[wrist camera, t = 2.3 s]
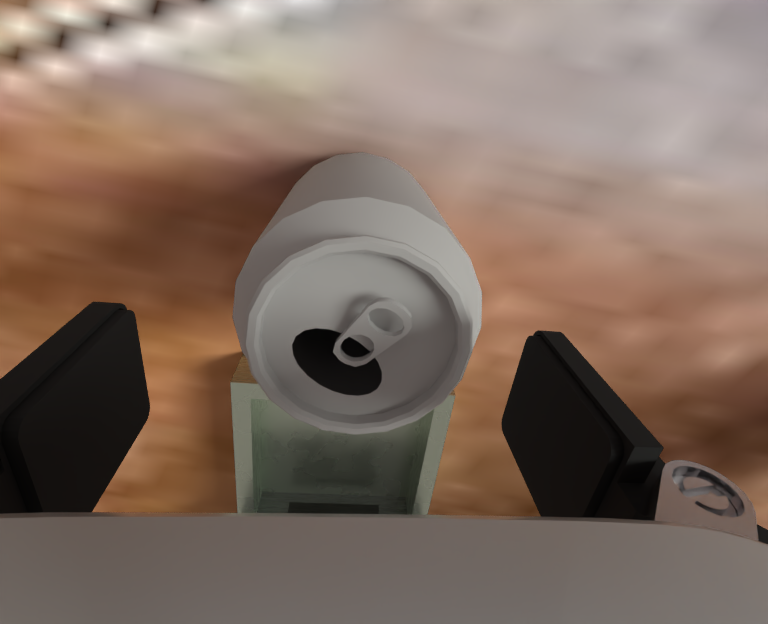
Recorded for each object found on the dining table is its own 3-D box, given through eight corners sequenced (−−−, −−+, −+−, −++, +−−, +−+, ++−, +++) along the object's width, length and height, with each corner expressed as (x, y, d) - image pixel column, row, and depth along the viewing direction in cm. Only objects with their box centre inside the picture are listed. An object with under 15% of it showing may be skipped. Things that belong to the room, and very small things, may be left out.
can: (255, 237, 22) (161, 372, 11) (345, 114, 20) (332, 140, 9) (369, 317, 25) (378, 491, 14) (461, 217, 22) (557, 332, 12)
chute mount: (445, 364, 26) (472, 449, 20) (403, 561, 35) (413, 663, 29) (243, 351, 25) (206, 437, 19) (251, 558, 34) (227, 664, 27)
